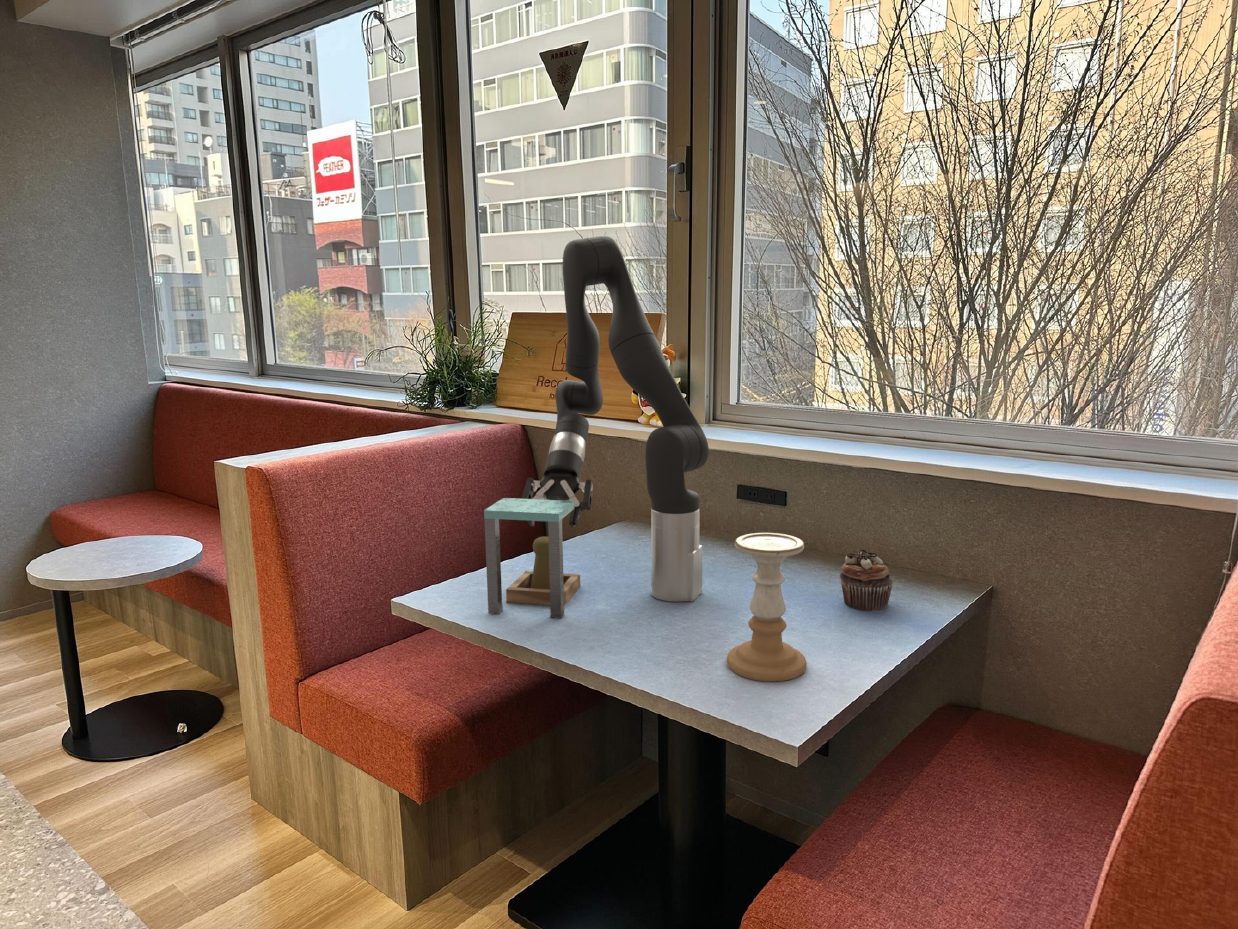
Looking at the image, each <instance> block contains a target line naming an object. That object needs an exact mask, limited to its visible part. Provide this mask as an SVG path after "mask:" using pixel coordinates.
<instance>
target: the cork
mask: <svg viewBox="0 0 1238 929" xmlns="http://www.w3.org/2000/svg"><path fill="white" fill-rule="evenodd" d="M532 549H533V550H532V551H533V553H534V554H535V556H534V562H533V569H532V572H533V576H532V582H531V586H530V588H532V589H547V590H550V575H549V538H548V536H547V535H546V536H539V537H537V538H535V539H534V541H533V543H532Z"/></svg>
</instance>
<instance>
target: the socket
mask: <svg viewBox="0 0 1238 929" xmlns="http://www.w3.org/2000/svg"><path fill="white" fill-rule="evenodd" d="M532 576H533V570H532V571H531V570H530V571H529V570H525V571H524V572H523V573H522V574H521V575H520V576H518V578H517V579H515V581H513V582H512V583H511V584H510V585H509V586H508V587H507V588H506V589H505V596H506V600H505V601H506V603H517V604H531V605H533V604H534V605H543V604H544V606H550V590H547V589H532V588H531V582H532ZM563 579H564V607H566V605H567V603H568V602H569V601H570V600H571V598H572V597H573V596H574V595H575V594H576V592H578V590H579V588H580V587H581V574H576V573H564V572H563ZM577 589H578V590H577ZM574 593H575V594H574ZM572 595H573V596H572ZM565 604H566V605H565Z"/></svg>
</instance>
